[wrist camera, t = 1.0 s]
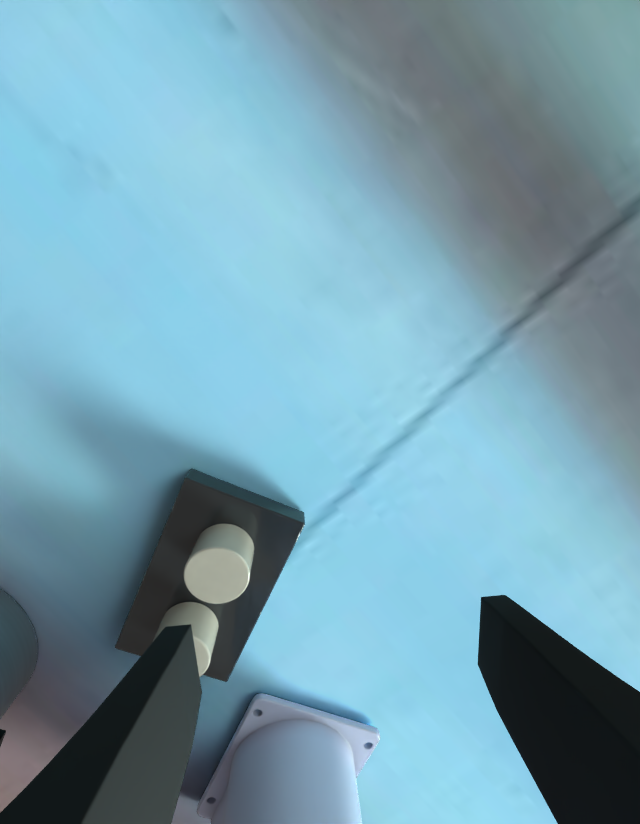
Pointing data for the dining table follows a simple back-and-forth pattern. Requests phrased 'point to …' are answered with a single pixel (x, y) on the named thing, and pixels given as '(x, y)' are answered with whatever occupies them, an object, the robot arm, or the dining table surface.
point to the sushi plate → (177, 553)
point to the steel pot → (14, 652)
